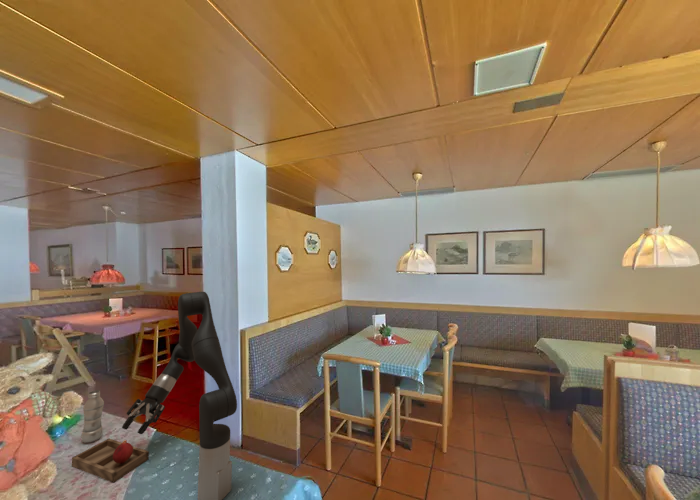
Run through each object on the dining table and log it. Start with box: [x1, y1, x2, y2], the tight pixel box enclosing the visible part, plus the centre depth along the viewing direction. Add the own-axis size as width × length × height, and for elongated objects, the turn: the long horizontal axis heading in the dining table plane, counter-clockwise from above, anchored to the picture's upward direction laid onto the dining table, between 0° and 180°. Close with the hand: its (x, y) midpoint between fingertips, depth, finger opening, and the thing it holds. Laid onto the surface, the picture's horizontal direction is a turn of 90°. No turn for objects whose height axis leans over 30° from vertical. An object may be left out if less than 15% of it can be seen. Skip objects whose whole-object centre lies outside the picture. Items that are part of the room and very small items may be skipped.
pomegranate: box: [113, 439, 134, 464], centre depth 104 cm, size 6×6×8 cm
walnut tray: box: [71, 438, 150, 483], centre depth 105 cm, size 23×12×3 cm, turn 71°
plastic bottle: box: [80, 389, 105, 444], centre depth 118 cm, size 6×7×20 cm
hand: (131, 431), depth 107 cm, fingers open, 8 cm apart
